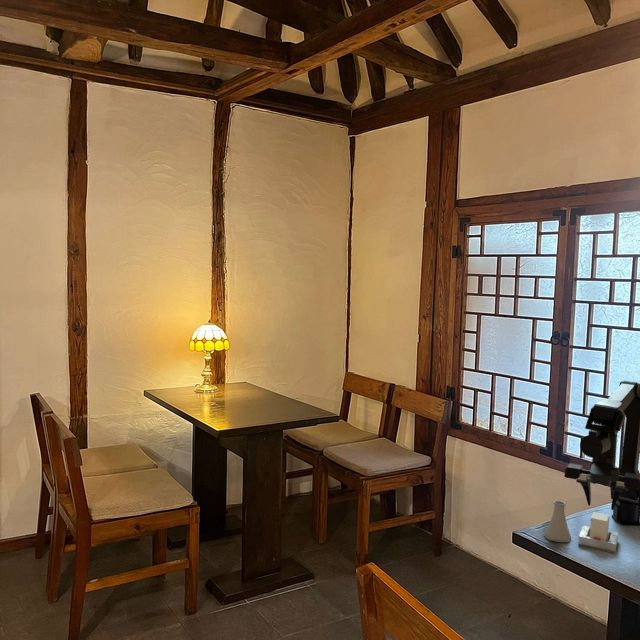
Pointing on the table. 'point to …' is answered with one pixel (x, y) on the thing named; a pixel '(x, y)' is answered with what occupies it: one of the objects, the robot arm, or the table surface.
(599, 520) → the plug
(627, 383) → the robot arm
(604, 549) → the socket
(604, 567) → the table surface
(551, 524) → the flask
